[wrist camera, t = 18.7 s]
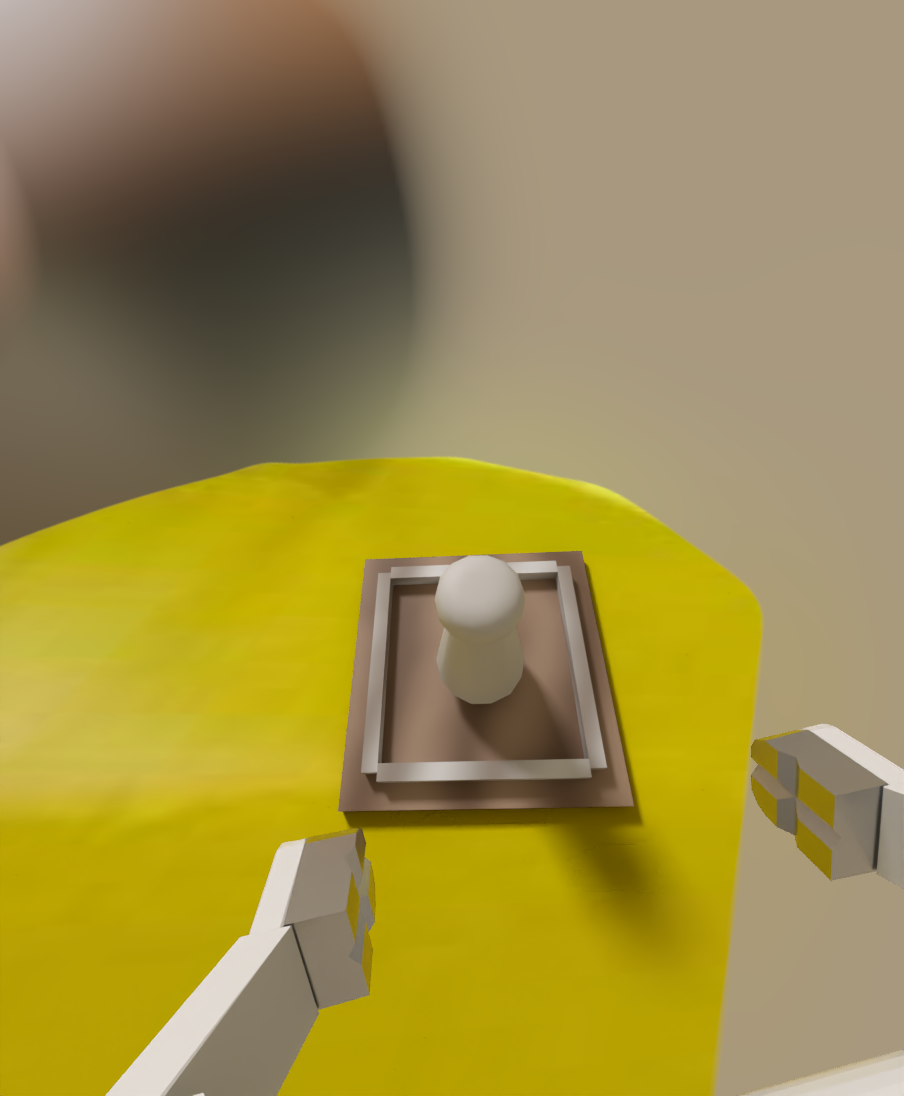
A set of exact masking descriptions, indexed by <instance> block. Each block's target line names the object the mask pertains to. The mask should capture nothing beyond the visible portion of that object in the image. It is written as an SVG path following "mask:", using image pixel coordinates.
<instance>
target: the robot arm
mask: <svg viewBox="0 0 904 1096" xmlns="http://www.w3.org/2000/svg"><path fill="white" fill-rule="evenodd" d="M751 757H752V758H753V759H754V761H755V762H756V763H757V764H758V765H757V767H756V768H755V770H754V771H753V773H752V775H751V785H752V791H753V793H754V796H755V798H756V801H757V803H758V805H759V806H760V808H761V809H762V811H763V812H764V813H765V815H766V816H767V817H768V818H769V819H770V820H771V821H772V822H773V823H774V824H775V825H776V826H777V827H778V828H780V829H783V830H785V831H787V832H789V833H791V834H793V835H794V836H795V840H796V843H797V847H798V848H799V849H800V850H801V851H802V852H803V853H804V854H805V855H806V856H807V857H808V858H809V859H810V860H811V861H812V862H813V863H814V864H815V865H816V866H817V867H818V868H819V869H820V870H821V871H822V872H823V873H824V874H825V875H826V876H827V877H828V878H829V879H830V880H836V879H841V878H846V877H850V876H855V875H860V874H865V873H869V872H874V871H877V875H879V876H881V877H883V878H885V879H887V880H888V881H890V882H892V883H894V884H896V885H897V886H899V887H901V888H903V889H904V770H903V769H901V768H900V767H898V766H897V765H895V764H893V763H892V762H890V761H889V760H887V759H885V758H884V757H882V756H880V755H879V754H877V753H876V752H874V751H873V750H871V749H869V748H868V747H866V746H865V745H863V744H861V743H860V742H858V741H857V740H855V739H853V738H852V737H850V736H849V735H847V734H845V733H844V732H842V731H841V730H839V729H837V728H836V727H834V726H831V725H827V724H819V725H816V726H811V727H807V728H803V729H800V730H795V731H791V732H786V733H782V734H778V735H773V736H769V737H765V738H761V739H756V740H754V742H753V744H752V746H751ZM365 847H366V842H365V838H364V835H363V831H362V829H360V828H355V829H350V830H344V831H339V832H334V833H329V834H324V835H318V836H313V837H309V838H307V839H302V840H296V841H291V842H285V843H282V844H281V846H280V847H279V849H278V850H277V852H276V855H275V858H274V861H273V864H272V867H271V870H270V873H269V876H268V879H267V882H266V885H265V888H264V891H263V894H262V897H261V900H260V903H259V906H258V909H257V912H256V915H255V918H254V921H253V924H252V927H251V930H250V933H249V935H247V936H243V937H240V938H239V939H238V940H237V941H236V943H235V944H234V945H233V946H232V947H231V948H230V950H229V951H228V952H227V953H226V954H225V956H224V957H223V958H222V959H221V960H220V961H219V963H218V964H217V965H216V966H215V967H214V968H213V970H212V971H211V972H210V973H209V974H208V976H207V977H206V978H205V979H204V980H203V981H202V983H201V984H200V985H199V986H198V987H197V988H196V990H195V991H194V992H193V993H192V994H191V996H190V997H189V998H188V999H187V1000H186V1001H185V1003H184V1004H183V1005H182V1006H181V1007H180V1008H179V1010H178V1011H177V1012H176V1013H175V1014H174V1016H173V1017H172V1018H171V1019H170V1020H169V1021H168V1023H167V1024H166V1025H165V1026H164V1027H163V1028H162V1030H161V1031H160V1032H159V1033H158V1034H157V1036H156V1037H155V1038H154V1039H153V1040H152V1041H151V1043H150V1044H149V1045H148V1046H147V1047H146V1049H145V1050H144V1051H143V1052H142V1053H141V1054H140V1056H139V1057H138V1058H137V1059H136V1060H135V1061H134V1063H133V1064H132V1065H131V1066H130V1067H129V1069H128V1070H127V1071H126V1072H125V1073H124V1074H123V1076H122V1077H121V1078H120V1079H119V1080H118V1081H117V1083H116V1084H115V1085H114V1086H113V1087H112V1089H111V1090H110V1091H109V1092H108V1093H107V1094H106V1096H277V1094H278V1092H279V1090H280V1088H281V1086H282V1084H283V1082H284V1080H285V1078H286V1076H287V1074H288V1072H289V1070H290V1068H291V1066H292V1065H293V1063H294V1061H295V1059H296V1057H297V1055H298V1053H299V1051H300V1049H301V1047H302V1045H303V1043H304V1041H305V1039H306V1037H307V1036H308V1034H309V1032H310V1030H311V1028H312V1026H313V1024H314V1022H315V1020H316V1018H317V1016H318V1014H319V1012H318V1010H319V1009H322V1008H326V1007H329V1006H333V1005H336V1004H340V1003H343V1002H347V1001H350V1000H354V999H357V998H361V997H364V996H368V995H370V981H371V967H372V954H373V948H372V944H371V940H370V936H369V930H370V929H371V927H372V926H373V924H374V922H375V907H376V901H375V882H374V875H373V870H372V866H371V862H370V861H369V860H368V859H366V858H365ZM737 1096H904V1049H902V1050H898V1051H895V1052H891V1053H888V1054H884V1055H880V1056H877V1057H874V1058H870V1059H866V1060H862V1061H859V1062H856V1063H852V1064H848V1065H845V1066H841V1067H837V1068H834V1069H830V1070H827V1071H823V1072H819V1073H816V1074H812V1075H809V1076H805V1077H802V1078H798V1079H794V1080H791V1081H787V1082H784V1083H780V1084H776V1085H773V1086H769V1087H766V1088H762V1089H759V1090H755V1091H751V1092H748V1093H744V1094H741V1095H737Z"/></svg>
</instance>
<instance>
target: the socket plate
mask: <svg viewBox="0 0 904 1096" xmlns="http://www.w3.org/2000/svg"><path fill="white" fill-rule="evenodd" d="M470 556H478V555H470ZM488 556H491V557H494V558H496V559H499V560H502V561H505V562H506V563H507V564H508V565H509V566H510V567H511V568H512V569H513V570H514V571H515V572H516V573H517V574H518V576H519V579H520V581H521V584H522V587H523V589H524V593H525V602H524V609H523V615H522V618H521V620H520V622H519V623H518V624H517V626H516V630H517V633H518V637H519V640H520V644H521V647H522V650H523V654H524V657H525V659H524V665H523V672H522V677H521V679H520V680H519V682H518V683H517V685H516V686H515V688H514V689H513V691H512V692H511V694H509V695H507V696H505V697H503V698H501V699H499V700H497V701H495V702H493V703H491V704H470V703H468V702H466V701H464V700H462V699H460V698H458V697H456V696H454V695H453V694H452V693H451V691H450V690H449V689H448V688H447V686H446V685H445V684H444V683H443V681H442V680H441V679H440V675H439V670H438V665H437V660H436V659H437V655H438V650H439V646H440V642H441V638H442V634H443V630H444V626H443V625H442V624H441V623H440V620H439V617H438V613H437V608H436V603H435V595H436V591H437V587H438V583H439V579H440V576H441V575H442V574H443V573H444V572H445V571H446V570H447V569H448V567H449V566H450V565H451V564H452V563H454V562H456V561H458V560H461V559H463V558H465V557H467V556H445V557H420V558H395V559H370V560H365V568H364V577H363V586H362V595H361V605H360V614H359V623H358V632H357V642H356V651H355V660H354V669H353V679H352V688H351V697H350V707H349V716H348V725H347V734H346V744H345V753H344V762H343V771H342V781H341V790H340V799H339V808H338V811H395V810H452V809H509V808H566V807H624V806H634V803H633V798H632V793H631V788H630V784H629V779H628V774H627V769H626V764H625V759H624V754H623V749H622V745H621V740H620V735H619V730H618V725H617V720H616V715H615V711H614V706H613V701H612V696H611V691H610V686H609V681H608V677H607V672H606V667H605V662H604V657H603V652H602V647H601V643H600V638H599V633H598V628H597V623H596V618H595V613H594V609H593V604H592V599H591V594H590V589H589V584H588V579H587V575H586V570H585V565H584V560H583V555H582V551H570V552H545V553H520V554H495V555H488Z"/></svg>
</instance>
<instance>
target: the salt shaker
mask: <svg viewBox="0 0 904 1096" xmlns="http://www.w3.org/2000/svg"><path fill="white" fill-rule="evenodd" d="M524 602H525V593H524V589H523V587H522V584H521V581H520V579H519V576H518V574H517V573H516V572H515V571H514V570H513V569H512V568H511V567H510V566H509V565H508V564H507V563H506V562H505V561H502V560H499V559H496V558H494V557H491V556H488V555H478V556H467V557H465V558H463V559H461V560H458V561H456V562H454V563H452V564H451V565H450V566H449V567H448V569H447V570H446V571H445V572H444V573H443V574H442V575H441V576H440V579H439V583H438V587H437V591H436V595H435V603H436V608H437V613H438V617H439V620H440V623H441V624H442V625H443V626H444V630H443V634H442V638H441V642H440V646H439V650H438V655H437V659H436V660H437V665H438V670H439V675H440V679H441V680H442V681H443V683H444V684H445V685H446V686H447V688H448V689H449V690H450V691H451V693H452V694H453V695H454V696H456V697H458V698H460V699H462V700H464V701H466V702H468V703H470V704H491V703H493V702H495V701H497V700H499V699H501V698H503V697H505V696H507V695H509V694H511V692H512V691H513V689H514V688H515V686H516V685H517V683H518V682H519V680H520V679H521V677H522V672H523V665H524V659H525V657H524V654H523V650H522V647H521V644H520V640H519V637H518V633H517V630H516V626H517V624H518V623H519V622H520V620H521V618H522V615H523V609H524Z"/></svg>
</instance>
